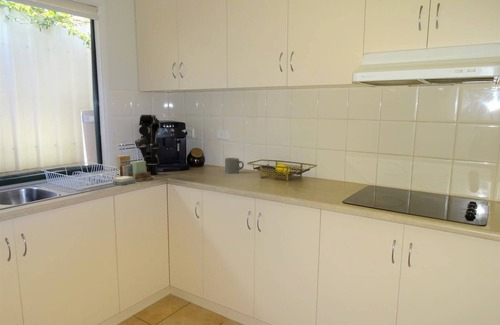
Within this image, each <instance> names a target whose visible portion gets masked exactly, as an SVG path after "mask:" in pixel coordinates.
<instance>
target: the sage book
mask: <svg viewBox="0 0 500 325" xmlns="http://www.w3.org/2000/svg"><path fill="white" fill-rule="evenodd" d="M131 165H132V166H133V177H134V178H135V174H139V173H145V172H147V166H146V161H145V160H137V161H136V160H135V161H132V164H131Z"/></svg>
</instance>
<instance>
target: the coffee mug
mask: <svg viewBox="0 0 500 325" xmlns="http://www.w3.org/2000/svg"><path fill="white" fill-rule="evenodd" d="M240 164H241V166H240ZM244 167H245V163H244V161H242V160H240V159H239V157H225V158H224V173H225V174H233V175H234V174H238V173H240V171H241V170H242V169H244Z"/></svg>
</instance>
